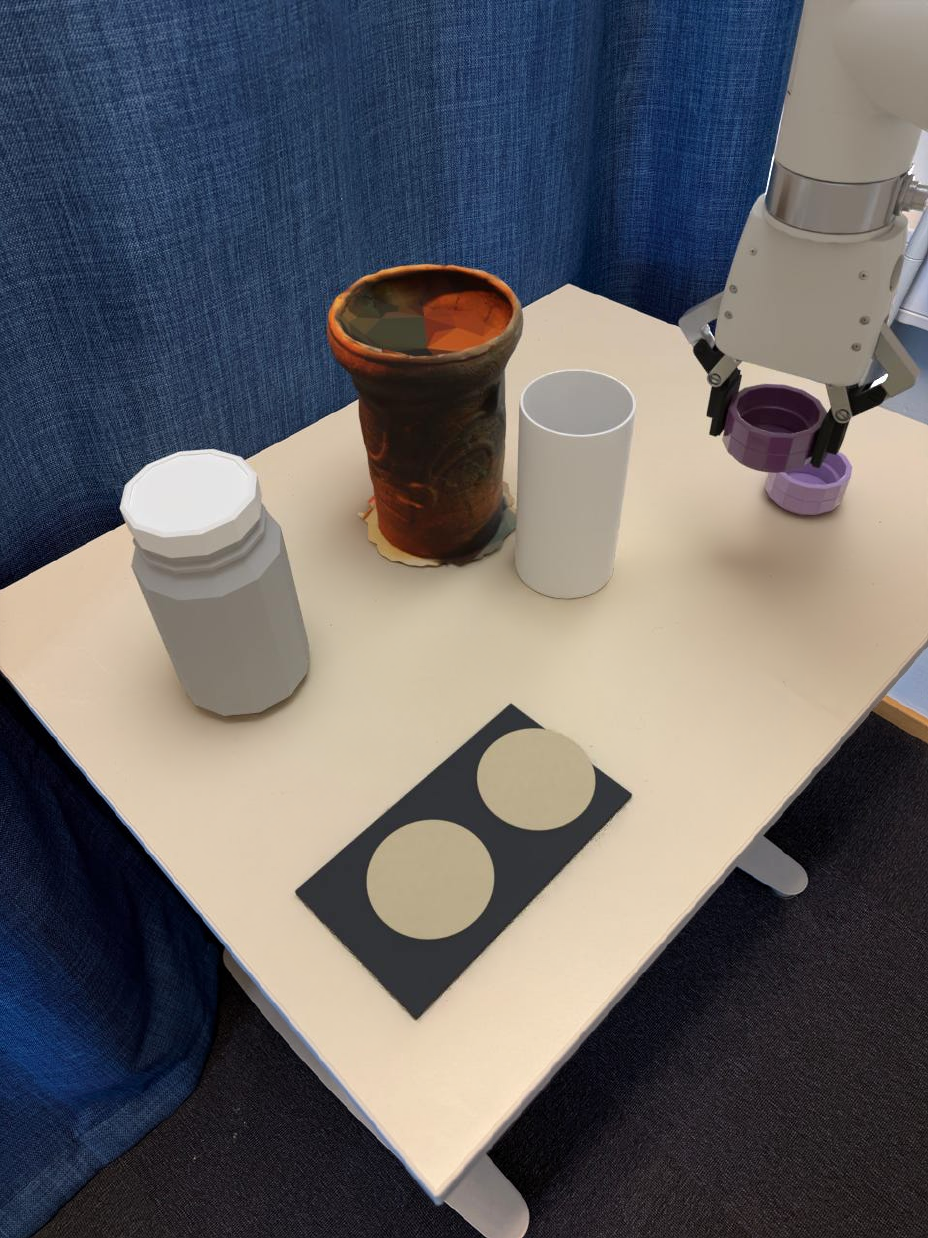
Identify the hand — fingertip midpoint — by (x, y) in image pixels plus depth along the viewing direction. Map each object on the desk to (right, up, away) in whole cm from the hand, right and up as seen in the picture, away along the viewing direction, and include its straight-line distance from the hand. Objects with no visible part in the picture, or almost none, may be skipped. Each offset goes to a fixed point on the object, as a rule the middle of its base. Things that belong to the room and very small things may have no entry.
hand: (770, 439), depth 66 cm
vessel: (-25, -4, +14) cm, 29 cm away
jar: (-39, -17, +3) cm, 42 cm away
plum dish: (0, -1, +1) cm, 1 cm away
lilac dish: (+8, -2, +15) cm, 17 cm away
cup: (-14, -9, +10) cm, 19 cm away
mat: (-22, -28, -7) cm, 36 cm away
